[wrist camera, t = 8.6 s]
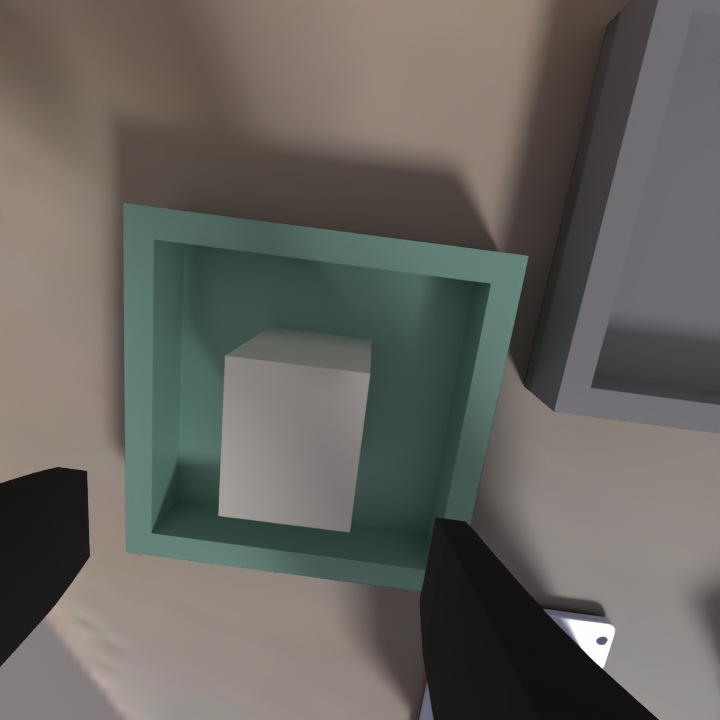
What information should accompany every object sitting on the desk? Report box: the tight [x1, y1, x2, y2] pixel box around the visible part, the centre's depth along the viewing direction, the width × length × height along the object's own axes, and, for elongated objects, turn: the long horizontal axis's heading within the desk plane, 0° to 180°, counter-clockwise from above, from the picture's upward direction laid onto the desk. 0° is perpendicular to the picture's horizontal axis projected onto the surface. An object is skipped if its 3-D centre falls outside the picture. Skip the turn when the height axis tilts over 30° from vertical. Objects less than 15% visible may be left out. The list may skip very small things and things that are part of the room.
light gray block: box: [218, 327, 372, 532], centre depth 14 cm, size 5×4×5 cm
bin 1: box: [123, 203, 529, 592], centre depth 16 cm, size 13×13×3 cm
